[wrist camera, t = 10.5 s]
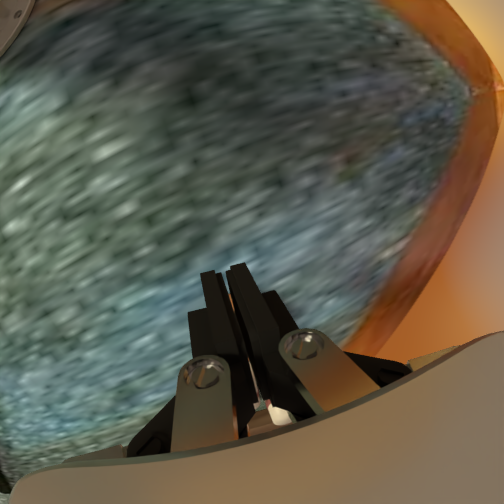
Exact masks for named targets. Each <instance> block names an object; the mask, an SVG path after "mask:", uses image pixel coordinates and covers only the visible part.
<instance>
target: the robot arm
mask: <svg viewBox="0 0 504 504" xmlns="http://www.w3.org/2000/svg"><path fill="white" fill-rule="evenodd" d="M34 3H35V0H0V57H1V56H2V55H3V54H4V53H5V51H6V50H7V49H8V48H9V46H10V45H11V44H12V43H13V41H14V40H15V38H16V37H17V36H18V34H19V33H20V31H21V29H22V28H23V26H24V24H25V23H26V21H27V19H28V17H29V15H30V13H31V11H32V9H33V6H34ZM230 269H231V270H228V271H226V276H227V281H228V285H229V290H230V294H231V299H232V303H233V307H234V309H233V307H232V304H231V301H230V298H229V295H228V292H227V289H226V286H225V283H224V280H223V277H222V274H221V272H220V273H216V274H215V270H212V271H208V272H204V273H200V276H201V281H202V287H203V292H204V297H205V302H206V307H207V308H203V309H199V310H195V311H191V312H188V322H189V331H190V340H191V348H192V356H193V359H191V360H189V361H188V362H187V363H186V364H184V365H183V367H182V368H181V369H180V372H179V375H178V381H177V390H176V395H175V396H174V397H173V398H172V399H171V400H170V401H169V402H168V403H167V404H166V405H165V407H164V408H163V409H162V410H161V411H160V412H159V413H158V414H157V415H156V416H155V417H154V418H153V419H152V420H151V421H150V422H149V423H148V424H147V425H146V426H145V427H144V428H143V429H142V430H141V431H140V432H139V433H138V434H137V435H136V436H135V437H134V438H133V439H132V440H131V442H130V443H129V445H128V446H125V447H123V446H122V445H121V444H120V445H116V446H113V447H109V448H106V449H102V450H99V451H95V452H91V453H87V454H83V455H79V456H75V457H71V458H68V459H66V460H64V461H63V462H62V463H61V464H56V465H52V466H47V467H44V468H41V469H38V470H36V471H33V472H31V473H29V474H27V475H25V476H24V477H22V478H20V480H19V481H18V482H17V483H16V484H15V486H14V488H13V490H12V492H11V495H10V498H9V502H8V504H504V331H500V332H495V333H491V334H487V335H484V336H482V337H479V338H476V339H474V340H472V341H470V342H467V343H465V344H463V345H461V346H460V345H459V346H453V347H450V348H447V349H444V350H441V351H438V352H435V353H432V354H428V355H425V356H422V357H418V358H414V359H411V360H408V362H407V364H405V365H404V364H402V363H399V362H396V361H391V360H386V359H380V358H375V357H369V356H364V355H359V354H354V353H349V352H344V351H342V350H341V349H340V348H339V347H338V346H337V345H336V344H335V343H334V342H333V341H332V340H331V339H330V338H329V337H328V336H327V335H325V334H324V333H322V332H321V331H318V330H316V329H309V328H304V329H299V328H298V326H297V325H296V323H295V321H294V320H293V318H292V316H291V315H290V313H289V312H288V310H287V308H286V307H285V305H284V303H283V302H282V300H281V299H280V297H279V295H278V294H277V292H276V291H275V290H273V291H269V292H265V293H262V294H261V292H260V290H259V289H258V287H257V285H256V283H255V281H254V279H253V277H252V275H251V273H250V271H249V269H248V268H247V266H246V264H245V262H244V263H240V264H236V265H232V266H230ZM248 359H249V360H248ZM249 362H250V364H251V367H252V370H253V373H254V376H255V378H256V381H257V384H258V387H259V389H260V392H261V395H262V398H263V400H264V401H265V400H268V399H270V402H271V404H272V407H277V408H280V409H283V410H286V411H287V414H288V416H289V418H290V419H291V421H292V422H293V424H290V425H287V426H284V427H281V428H278V429H274V430H271V431H268V432H264V433H261V434H257V435H253V436H250V430H249V426H248V423H249V421H250V420H251V419H252V417H253V416H254V414H255V413H256V412H255V408H254V403H258V402H259V401H258V397H257V393H256V389H255V385H254V380H253V376H252V372H251V368H250V364H249Z"/></svg>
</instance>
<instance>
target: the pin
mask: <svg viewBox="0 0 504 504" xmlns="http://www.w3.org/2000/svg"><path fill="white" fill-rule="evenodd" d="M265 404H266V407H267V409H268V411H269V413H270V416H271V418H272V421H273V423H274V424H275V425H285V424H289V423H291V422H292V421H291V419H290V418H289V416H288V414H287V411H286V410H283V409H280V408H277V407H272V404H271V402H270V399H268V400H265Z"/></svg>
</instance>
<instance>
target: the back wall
mask: <svg viewBox="0 0 504 504" xmlns="http://www.w3.org/2000/svg"><path fill="white" fill-rule="evenodd" d="M290 424H293V422H291V423H289V424H285V425H275V424H274V423H273V421H272V418H271V416H270V413H269V411H268V409H264V410H260V411H257V412H256V413H255V414H254V416H253V417H252V419H251V420H250V421H249V423H248V426H249V430H250V436H253V435H257V434H261V433H264V432H268V431H271V430H274V429H278V428H281V427H284V426H287V425H290Z"/></svg>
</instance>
